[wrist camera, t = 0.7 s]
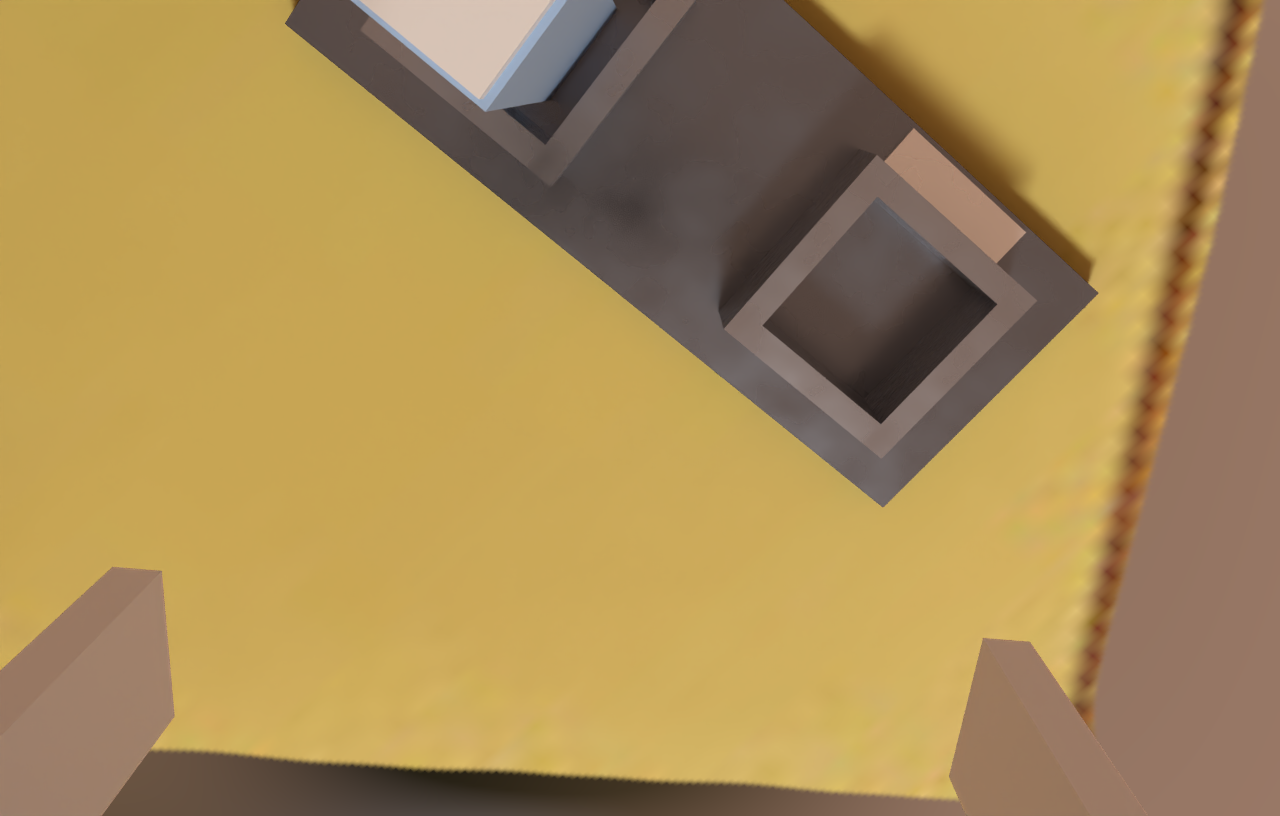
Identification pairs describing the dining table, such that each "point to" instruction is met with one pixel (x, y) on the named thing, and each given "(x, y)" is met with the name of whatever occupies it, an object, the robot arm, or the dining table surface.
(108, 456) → the dining table surface
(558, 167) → the panel
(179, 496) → the dining table surface
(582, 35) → the plug
